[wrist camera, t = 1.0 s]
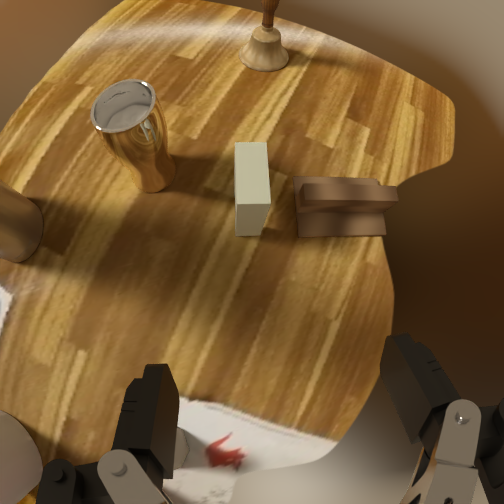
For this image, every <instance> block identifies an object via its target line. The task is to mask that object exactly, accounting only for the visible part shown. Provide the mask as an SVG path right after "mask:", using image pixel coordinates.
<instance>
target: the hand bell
mask: <svg viewBox="0 0 504 504" xmlns="http://www.w3.org/2000/svg"><path fill="white" fill-rule="evenodd" d="M261 4H262V8H263V22H262V26H259V27H257V28H255V29H254V30H253V32H252V36H251V39H250V41H249V42H247V43H246V44H244V45H243V46H242V47H241V49H240V51H239V58H240V60H241V62H242V63H243V64H244V65H246V66H247V67H249V68H251V69H254V70H257V71H263V72H269V71H276V70H279V69H281V68H283V67H284V66H285V65H286V64H287V62H288V60H289V56H288V53H287V51H286V49H285V48H284V47H283V46H282V45H281V34H280V32H279V31H278V30H277V29H276V28H274V27H273V20H274V12H275V10H276V8H277V7H278V4H279V0H261Z"/></svg>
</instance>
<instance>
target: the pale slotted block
mask: <svg viewBox="0 0 504 504" xmlns="http://www.w3.org/2000/svg"><path fill="white" fill-rule="evenodd" d="M234 196H235V208H236V216H235V236H260V235H261V232H262V229H263V226H264V223H265V220H266V217H267V214H268V211H269V208H270V205H271V198H270V184H269V171H268V158H267V145H266V142H235V162H234Z"/></svg>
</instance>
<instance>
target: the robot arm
mask: <svg viewBox="0 0 504 504" xmlns="http://www.w3.org/2000/svg"><path fill="white" fill-rule="evenodd" d="M42 233H43V217H42V213H41V211H40V209H39V208H38V206H37V205H36V204H34V203H33V202H31V201H30V200H28V199H27V198H26V197H24V196H23V195H21V194H20V193H19V192H17V191H16V190H14V189H13V188H12V187H10V186H9V185H7V184H6V183H5V182H3V181H2V180H0V258H2V259H5V260H8V261H11V262H16V263H17V262H22V261H24V260H26V259H27V258H29V257H30V256H31V255H32V254H33V252H34V251H35V250H36V248H37V246H38V245H39V242H40V240H41V237H42ZM380 374H381V377H382V380H383V382H384V384H385V386H386V388H387V391H388V393H389V395H390V397H391V399H392V401H393V403H394V405H395V408H396V410H397V412H398V415H399V417H400V419H401V421H402V424H403V426H404V428H405V431H406V433H407V435H408V437H409V440H410V442H411V444H414V443H417V442H420V441H421V442H422V444H423V448H422V450H421V453H420V456H419V460H418V462H417V465H416V468H415V471H414V474H413V477H412V479H411V482H410V485H409V487H408V490H407V492H406V494H405V495H404V497H403V499H402V500H401V502H400V504H471V502H472V498H473V494H474V490H475V486H476V482H477V477H478V475H479V478H480V480H481V483H482V486H483V488H484V491H485V494H486V497H487V499H488V502H489V504H504V398H503V399H502V400H501V402H500V403H499V405H497V406H488V407H477V405H475V404H474V403H473V402H471V401H469V400H464V399H461V397H460V396H459V394H458V393H457V391H456V389H455V388H454V387H453V385H452V383H451V381H450V380H449V378H448V377H447V375H446V374H445V372H444V370H443V369H441V366H440V364H439V363H438V362H437V361H436V358H435V356H434V355H433V353H432V352H431V350H430V349H428V348H427V347H426V346H424V345H423V344H421V343H420V342H418V343H414V341H413V340H412V338H411V337H410V335H409V334H408V333H407V332H403V333H399V334H394V335H390V336H387V338H386V341H385V345H384V349H383V354H382V358H381V362H380ZM178 414H179V393H178V389H177V387H176V384H175V382H174V379H173V376H172V374H171V371H170V368H169V366H168V364H147V365H146V366H145V369H144V373H143V378H134V380H133V381H132V382H131V384H130V385H129V386H128V388H127V389H126V393H125V397H124V403H123V404H122V408H121V413H120V416H119V421H118V425H117V429H116V433H115V437H114V442H113V446H112V449H111V451H109V452H107V453H106V454H104V455H103V456H102V457H101V459H100V460H99V461H98V462H95V463H91V464H85V465H78V466H73V465H72V464H71V463H70V462H68V461H67V460H64V459H55V460H53V461H51V462H49V463H48V464H47V465H46V466H45V467H44V469H43V472H42V476H41V480H40V485H39V489H38V494H37V499H36V504H174V503H173V502H172V501H171V499H170V498H169V497H168V496H167V494H166V493H165V492H164V490H163V489H162V486H163V479H173V468H174V456H175V444H176V434H177V423H178ZM474 465H475V467H474Z"/></svg>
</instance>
